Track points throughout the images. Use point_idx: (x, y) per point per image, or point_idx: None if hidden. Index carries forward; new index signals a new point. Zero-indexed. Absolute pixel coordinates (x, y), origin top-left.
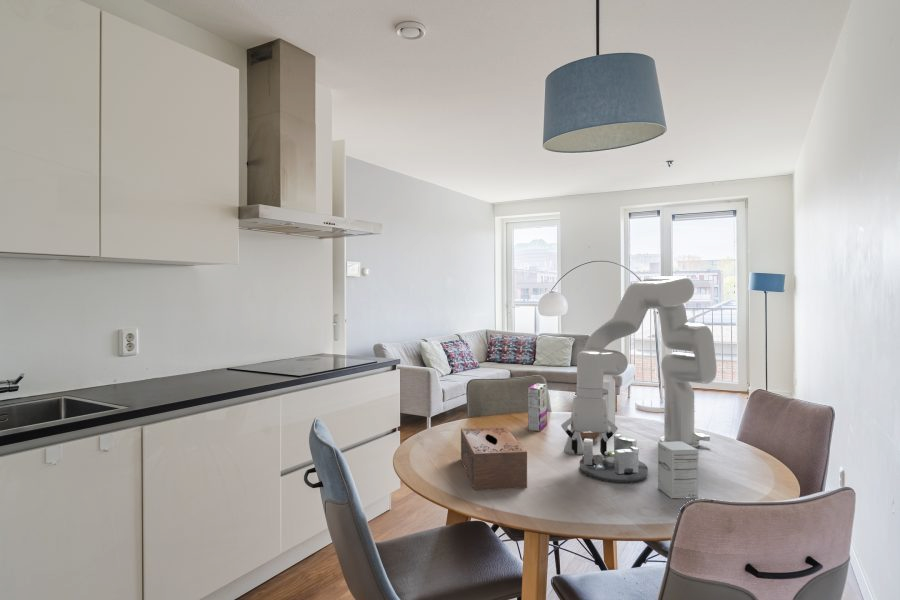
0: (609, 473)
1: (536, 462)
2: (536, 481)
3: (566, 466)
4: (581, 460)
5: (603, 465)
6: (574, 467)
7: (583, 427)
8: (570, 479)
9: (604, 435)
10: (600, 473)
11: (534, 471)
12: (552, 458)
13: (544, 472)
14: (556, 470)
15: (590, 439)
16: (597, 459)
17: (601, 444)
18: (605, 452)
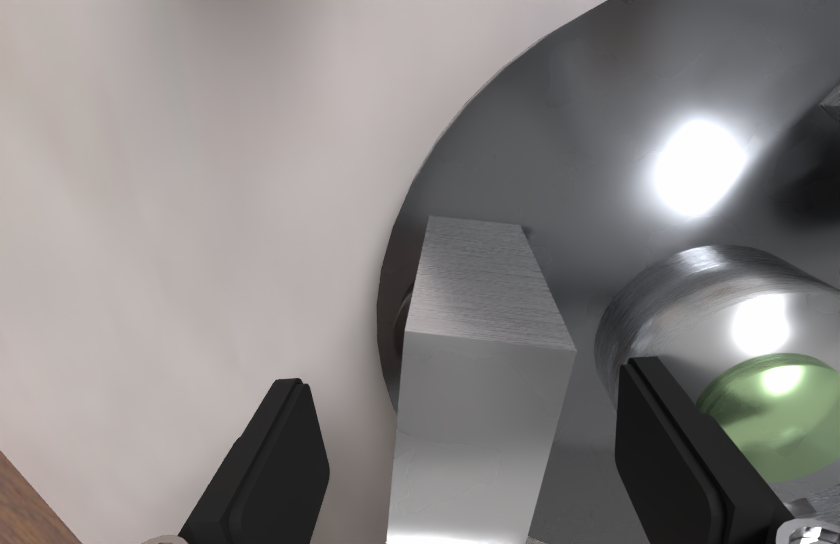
0: (600, 526)
1: (3, 191)
2: (143, 528)
3: (272, 248)
4: (394, 267)
5: (595, 375)
6: (341, 261)
7: None
8: (328, 486)
9: None
10: (529, 532)
11: (73, 390)
12: (96, 22)
13: (142, 398)
14: (212, 350)
15: (517, 394)
16: (573, 206)
17: (669, 531)
18: (692, 349)
